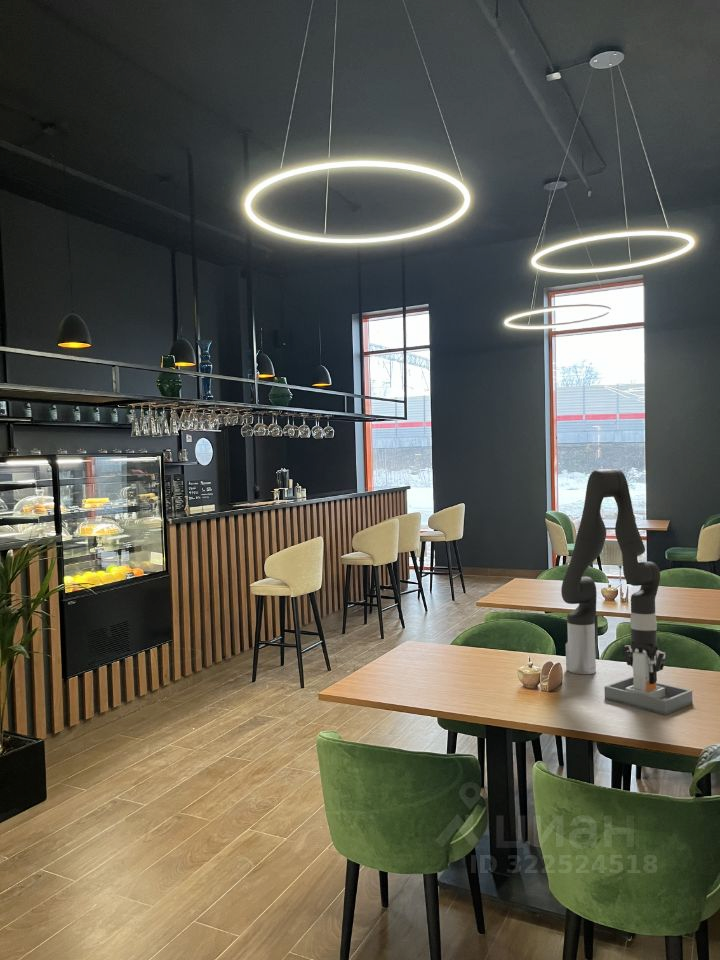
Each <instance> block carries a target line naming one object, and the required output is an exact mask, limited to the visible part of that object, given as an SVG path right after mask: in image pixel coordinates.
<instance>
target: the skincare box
mask: <svg viewBox="0 0 720 960" xmlns="http://www.w3.org/2000/svg"><path fill="white" fill-rule="evenodd" d="M632 654H633V667H632V671H633V672H632V677H633V687H634V690H638V691H642V692H646V693H649V692H652V691H655V690H657V689H656V682H657V681H656V682H655V684H650V683H649V672H650V670H649V666H648V664H647V661H648V660H647V655H646V654H643V653H636V652H632ZM655 659H656V660H657V654H656V655H655ZM650 661H653V659H652V660H650Z"/></svg>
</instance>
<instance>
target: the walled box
mask: <svg viewBox="0 0 720 960" xmlns="http://www.w3.org/2000/svg"><path fill="white" fill-rule="evenodd" d="M603 687H604V700H607V701H611V702H614V703H618V704H622V705H626V706H629V707H633V708H637V709H640V710H644V711H647V712H652V713H656V714H659V715H663V716H668V715H669V714H673V713H675V712H677V711H680V710H682V709H684V708H686V707H688V706H691V705H693V690H690V689H687V688H682V687H678V686H673V685H670V684H665V683H660V682H657V681H656V689H657V690H655V691H652V692H649V693H646V692H642V691H638V690H634V687H633V676H630V677H627V678H624V679H621V680H619V681H616V682H612V683H610V684H609V683H608V684H606V685H604V686H603Z"/></svg>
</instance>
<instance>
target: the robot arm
mask: <svg viewBox="0 0 720 960" xmlns="http://www.w3.org/2000/svg"><path fill="white" fill-rule="evenodd" d="M585 489H586V491H585V499H584V503H583V510H582V514H581V518H580V522H579V526H578V529H577V534H576V537H575V543H574V546H573V551H572V555H571V557H570V561H569V563H568V567H567V569H566V572H565V575H564V577H563V580H562V584H561V588H560V589H561V590H560V591H561V598H562V600H563V601H564V603H565V604H569V605H575V604H576V605H578V606H577V607H576V608H575V609H574V610H572V611H571V612H568V614H567V615H566V617H567V618H566V619H567V620H566V624H567V642H565V669H566V671H568V672H570V673H572V674H575V675H576V674H577V675H592V674H595V673H596V672H597V661H596V660H597V658H596V657H597V656H596V627H595V626H596V625H595V623H596V622H595V618H596V617H597V616H596V614H597V595H598V594H597V585H596V583H595V580H594V579H593V578H592V577H590V576H584V573H586V570H587V569H589V567H590V566H592V564H593V563H594V562H595V560H597V558H598V557H599V556H600V555H601V553H602V551H603V549H604V546H605V542H606V537H607V528H606V525H605V522H604V521H603V518H602V517H603V516H602V515H601V509H602V508H601V507H602V503H603V500H604V498H613V499H614V500H615V503H616V506H617V516H616V522H615V526H614V527H615V528H614V531H615V538H616V541H617V544H618V546H619V549H620V551H621V560H622V570H623V571H622V572H623V577H624V578H625V581H626V582H627V583H628V584H629V585H631V586H633V587H639V586H640V588H639V590H638V591H637V592H634V593H632V594H631V595H630V641H631V644H630V645H629V644H627V645H624V646H622V651H623V655H624V658H625V661H626V665H627V666H630V667H632V668H633V653H634V652H636V653H643V654H646V655H647V660H648V661H647V664H648V666H649V670H650V672H649V683H650V684H655V682H657V681H658V680H657V679H658V677H657V673H658V672H661V671H663V670H664V666H665V663H666V660H667V656H668V654H667V653H668V652H665V651H661V650H659V648H658V646H657V644H658V630H657V629H658V624H657V616H656V614H657V613H656V596H657V594H658V590H659V585H660V581H661V571H660V569H659V567H658V565H657V564H656V563H655V562H653V561H642V562H641V561H638V560H639V559H638V557H640V556H642V555H643V554H644V553H645V552H646V549H645V548H646V547H645V545H644V542H643V539H642V536H641V533H640V532H639V528H638V526H637V522H636V519H635V514H634V507H633V504H632V503H633V502H632V497H631V493H630V488H629V484H628V481H627V476H626V475H625V474H624V472H623V471H622V470H620V469H618V468H607V469H606V468H605V469H603V468H602V469H596V470H592V471H591V473H590V475H589V476H588V480H587V485H586V488H585ZM655 655H656V659H655ZM652 659H653V661H650V660H652Z"/></svg>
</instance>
